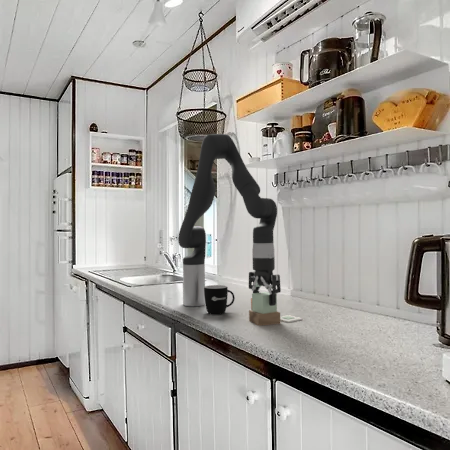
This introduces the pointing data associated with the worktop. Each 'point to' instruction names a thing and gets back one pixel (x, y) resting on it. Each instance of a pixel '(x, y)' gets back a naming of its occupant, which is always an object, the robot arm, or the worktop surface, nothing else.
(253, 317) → the walnut block
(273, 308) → the sage cube
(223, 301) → the mug
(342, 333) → the worktop surface
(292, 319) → the tile
